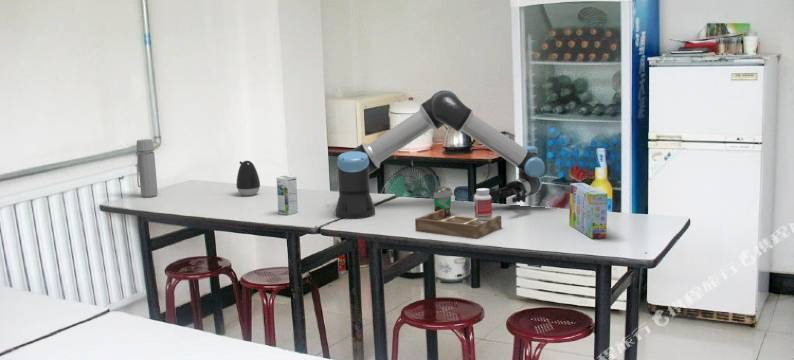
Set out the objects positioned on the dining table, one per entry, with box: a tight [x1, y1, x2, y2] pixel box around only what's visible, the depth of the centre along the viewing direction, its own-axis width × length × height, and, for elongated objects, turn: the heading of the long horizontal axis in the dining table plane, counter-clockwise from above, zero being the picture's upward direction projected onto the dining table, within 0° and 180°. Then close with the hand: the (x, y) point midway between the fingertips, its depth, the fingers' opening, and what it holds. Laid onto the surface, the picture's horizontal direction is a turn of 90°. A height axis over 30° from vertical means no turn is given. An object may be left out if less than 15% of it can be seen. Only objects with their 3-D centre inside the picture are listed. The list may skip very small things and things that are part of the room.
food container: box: [433, 186, 454, 218], centre depth 316 cm, size 12×6×10 cm, turn 168°
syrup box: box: [276, 175, 299, 216], centre depth 329 cm, size 6×6×14 cm
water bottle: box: [135, 138, 159, 198], centre depth 373 cm, size 9×8×25 cm
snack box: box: [568, 182, 608, 240], centre depth 284 cm, size 21×6×15 cm, turn 9°
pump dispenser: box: [236, 160, 261, 197], centre depth 369 cm, size 10×10×15 cm
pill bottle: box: [474, 187, 493, 222], centre depth 308 cm, size 6×6×11 cm
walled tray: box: [414, 209, 502, 239], centre depth 294 cm, size 17×24×4 cm
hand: (490, 200), depth 311 cm, fingers open, 13 cm apart
